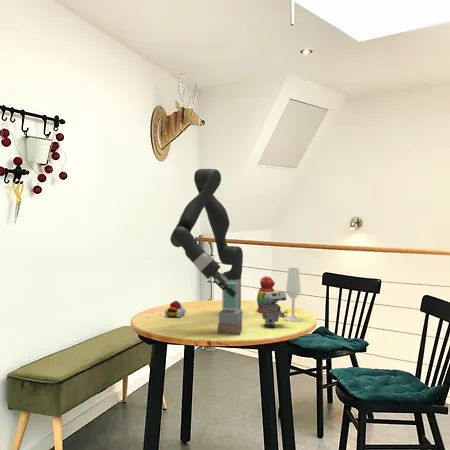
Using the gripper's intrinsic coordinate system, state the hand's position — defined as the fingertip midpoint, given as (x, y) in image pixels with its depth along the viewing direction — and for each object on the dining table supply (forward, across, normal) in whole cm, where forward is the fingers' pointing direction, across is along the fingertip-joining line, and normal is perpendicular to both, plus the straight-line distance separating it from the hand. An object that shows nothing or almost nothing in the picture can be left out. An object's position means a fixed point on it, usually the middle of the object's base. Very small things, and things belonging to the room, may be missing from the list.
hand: (234, 294), depth 198 cm
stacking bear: (+19, +44, +3) cm, 48 cm away
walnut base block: (+10, 0, +13) cm, 16 cm away
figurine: (+23, +14, 0) cm, 27 cm away
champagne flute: (+28, +28, -6) cm, 40 cm away
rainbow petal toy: (-11, +26, +34) cm, 44 cm away
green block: (+2, 0, +5) cm, 6 cm away
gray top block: (+7, 0, +9) cm, 12 cm away
